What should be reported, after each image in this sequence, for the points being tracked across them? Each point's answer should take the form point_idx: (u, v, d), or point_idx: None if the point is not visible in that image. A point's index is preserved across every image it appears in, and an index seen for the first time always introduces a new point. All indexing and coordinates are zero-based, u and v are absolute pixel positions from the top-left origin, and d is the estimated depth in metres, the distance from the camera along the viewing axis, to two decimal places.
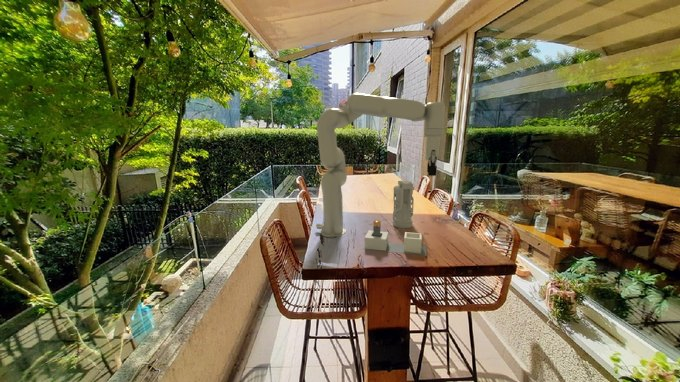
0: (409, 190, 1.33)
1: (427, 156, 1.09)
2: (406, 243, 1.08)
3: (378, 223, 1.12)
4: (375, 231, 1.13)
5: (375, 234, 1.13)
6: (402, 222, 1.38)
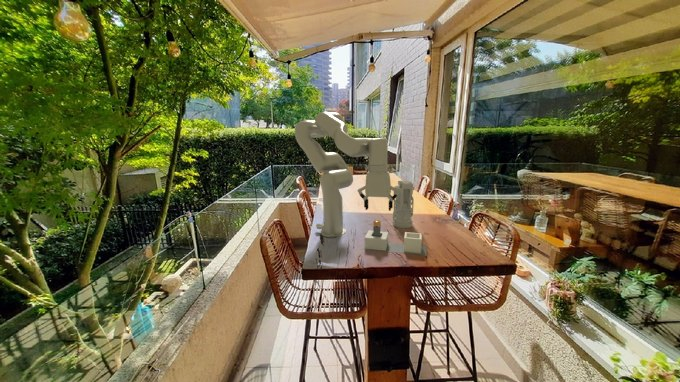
0: (409, 190, 1.33)
1: (389, 192, 1.07)
2: (406, 243, 1.08)
3: (378, 223, 1.12)
4: (375, 231, 1.13)
5: (375, 234, 1.13)
6: (402, 222, 1.38)
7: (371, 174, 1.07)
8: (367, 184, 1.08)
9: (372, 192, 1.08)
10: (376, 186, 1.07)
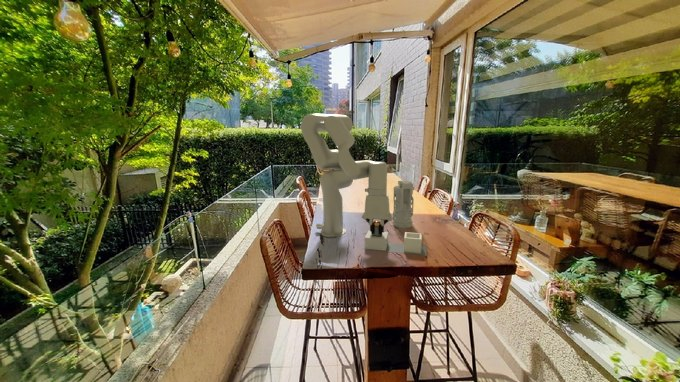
0: (409, 190, 1.33)
1: (388, 215, 1.09)
2: (406, 243, 1.08)
3: (378, 223, 1.12)
4: (375, 231, 1.13)
5: (375, 234, 1.13)
6: (402, 222, 1.38)
7: (370, 197, 1.09)
8: (366, 206, 1.10)
9: (371, 214, 1.10)
10: (375, 209, 1.09)
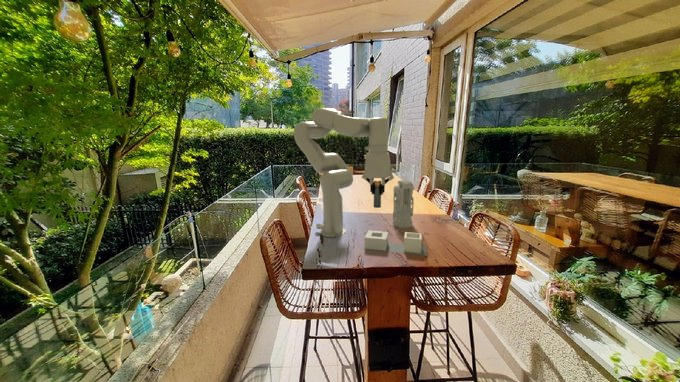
0: (409, 190, 1.33)
1: (389, 173, 1.05)
2: (406, 243, 1.08)
3: (379, 182, 1.08)
4: (375, 191, 1.09)
5: (375, 194, 1.10)
6: (402, 222, 1.38)
7: (371, 154, 1.06)
8: (367, 165, 1.07)
9: (371, 173, 1.07)
10: (376, 167, 1.06)
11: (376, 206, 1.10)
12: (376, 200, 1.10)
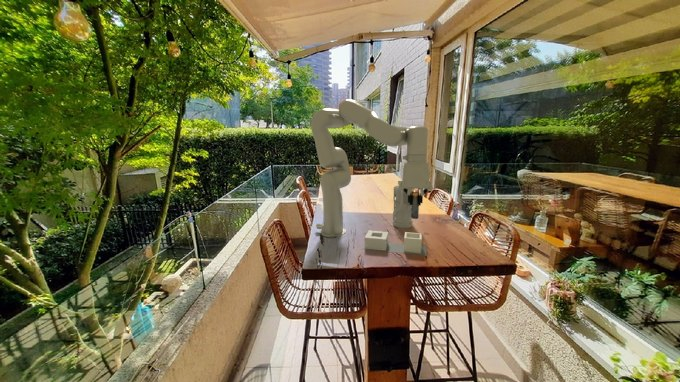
0: None
1: (429, 183, 1.02)
2: (406, 243, 1.08)
3: (417, 193, 1.05)
4: (414, 201, 1.06)
5: (413, 205, 1.06)
6: (402, 222, 1.38)
7: (410, 164, 1.02)
8: (405, 175, 1.03)
9: (410, 183, 1.03)
10: (415, 177, 1.02)
11: (414, 217, 1.07)
12: (414, 211, 1.06)
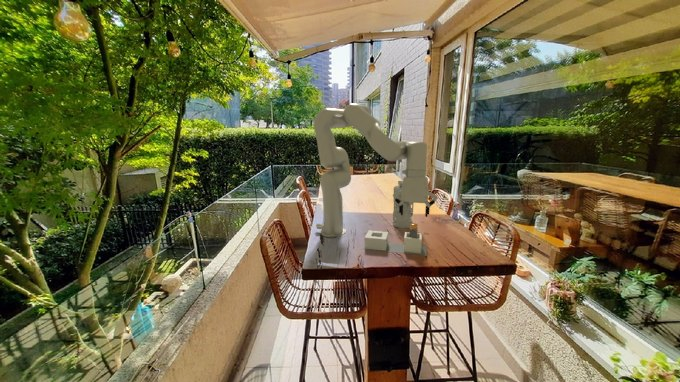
0: None
1: (427, 198, 1.03)
2: (406, 243, 1.08)
3: (415, 226, 1.07)
4: (412, 234, 1.08)
5: (412, 237, 1.09)
6: (402, 222, 1.38)
7: (409, 179, 1.03)
8: (404, 189, 1.05)
9: (409, 197, 1.05)
10: (414, 192, 1.04)
11: None
12: None
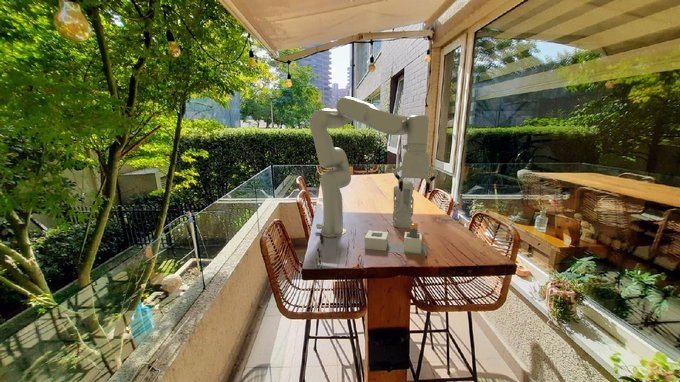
0: (409, 190, 1.33)
1: (428, 173, 1.01)
2: (406, 243, 1.08)
3: (415, 226, 1.08)
4: (412, 234, 1.09)
5: (412, 237, 1.09)
6: (402, 222, 1.38)
7: (409, 153, 1.01)
8: (404, 164, 1.03)
9: (409, 173, 1.03)
10: (414, 167, 1.02)
11: None
12: None
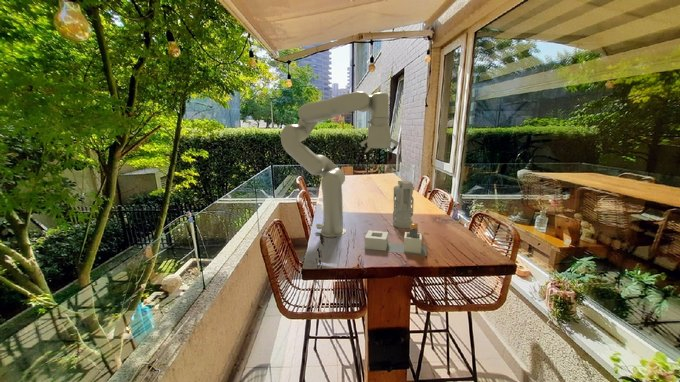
0: (409, 190, 1.33)
1: (389, 143, 1.17)
2: (406, 243, 1.08)
3: (416, 226, 1.08)
4: (412, 234, 1.09)
5: (412, 237, 1.09)
6: (402, 222, 1.38)
7: (373, 127, 1.17)
8: (369, 136, 1.18)
9: (373, 144, 1.18)
10: (377, 138, 1.17)
11: None
12: None
